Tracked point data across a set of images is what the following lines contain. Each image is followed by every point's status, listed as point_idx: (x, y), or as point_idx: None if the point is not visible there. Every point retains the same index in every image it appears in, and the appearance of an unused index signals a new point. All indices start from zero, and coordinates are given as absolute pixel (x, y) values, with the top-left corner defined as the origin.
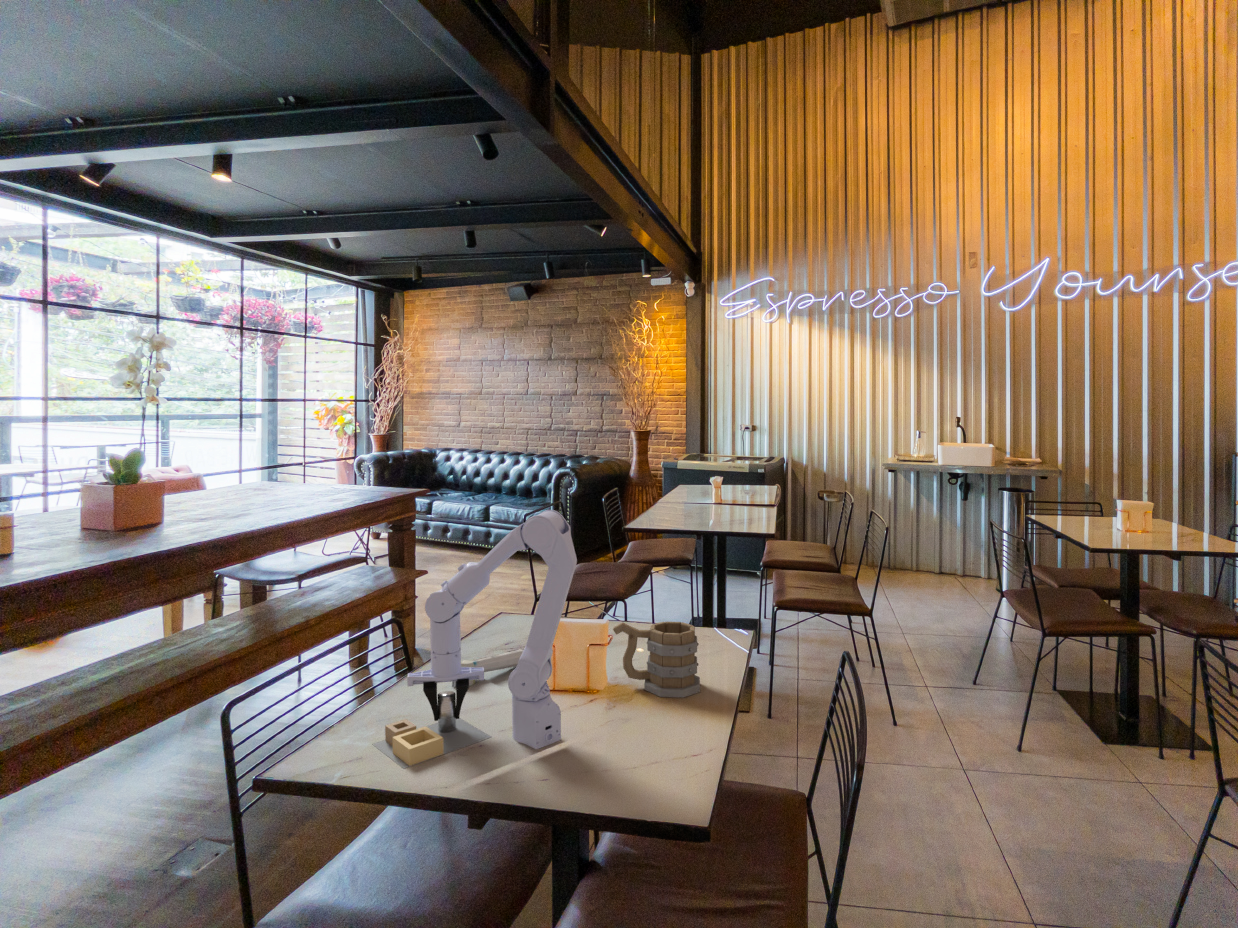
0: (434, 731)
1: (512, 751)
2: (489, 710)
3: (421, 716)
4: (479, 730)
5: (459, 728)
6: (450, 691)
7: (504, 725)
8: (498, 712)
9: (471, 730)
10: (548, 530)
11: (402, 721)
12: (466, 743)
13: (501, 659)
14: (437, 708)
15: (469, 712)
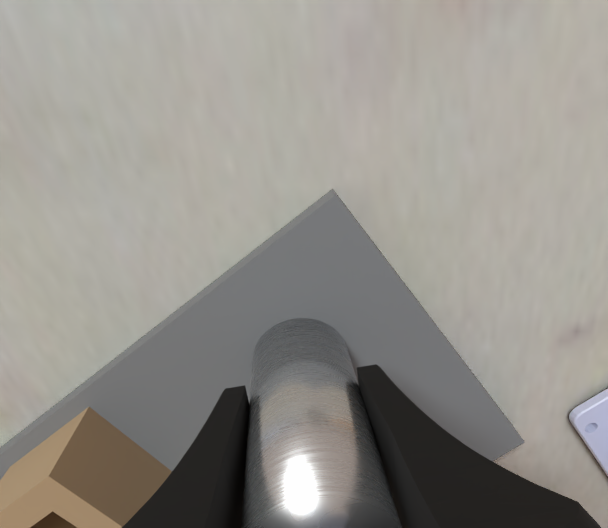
0: (236, 382)
1: (580, 502)
2: (543, 43)
3: (73, 104)
4: (470, 381)
5: (367, 356)
6: (354, 510)
7: (596, 280)
8: (596, 88)
9: (430, 380)
10: None
11: (42, 504)
12: None
13: None
14: (244, 466)
15: (405, 65)
